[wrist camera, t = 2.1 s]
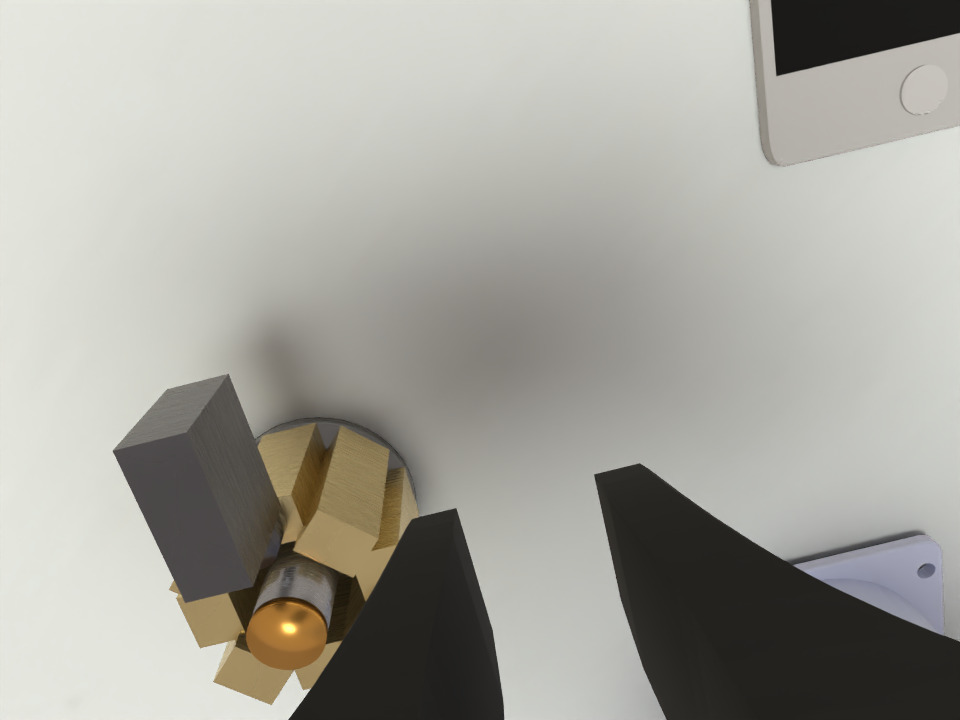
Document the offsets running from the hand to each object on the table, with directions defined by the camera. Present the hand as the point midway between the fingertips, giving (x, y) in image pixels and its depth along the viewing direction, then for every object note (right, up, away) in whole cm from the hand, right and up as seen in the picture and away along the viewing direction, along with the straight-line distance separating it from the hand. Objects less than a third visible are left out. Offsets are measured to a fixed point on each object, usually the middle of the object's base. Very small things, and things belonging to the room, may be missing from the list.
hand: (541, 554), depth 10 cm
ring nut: (-5, 0, +9) cm, 11 cm away
